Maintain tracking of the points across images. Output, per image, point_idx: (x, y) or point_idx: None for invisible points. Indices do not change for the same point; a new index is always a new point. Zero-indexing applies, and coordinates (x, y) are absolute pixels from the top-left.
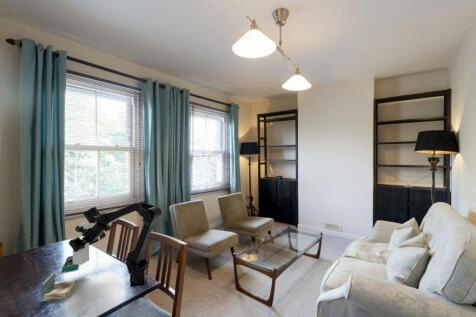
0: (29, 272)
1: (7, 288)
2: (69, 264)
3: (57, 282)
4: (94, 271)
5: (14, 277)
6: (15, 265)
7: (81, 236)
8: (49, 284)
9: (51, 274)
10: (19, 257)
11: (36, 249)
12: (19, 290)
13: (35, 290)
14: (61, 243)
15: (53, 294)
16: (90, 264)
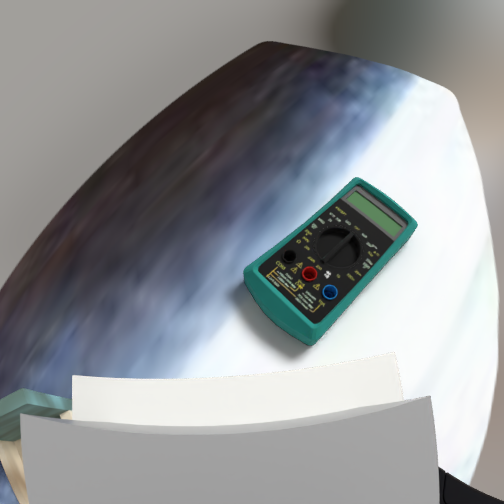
0: (192, 152)
1: (71, 204)
2: (298, 272)
3: None
4: None
5: (147, 146)
6: (228, 82)
7: (404, 482)
8: (8, 428)
9: (10, 397)
10: (276, 58)
11: (337, 56)
12: (55, 261)
13: (56, 331)
14: (409, 78)
15: (10, 479)
16: None
